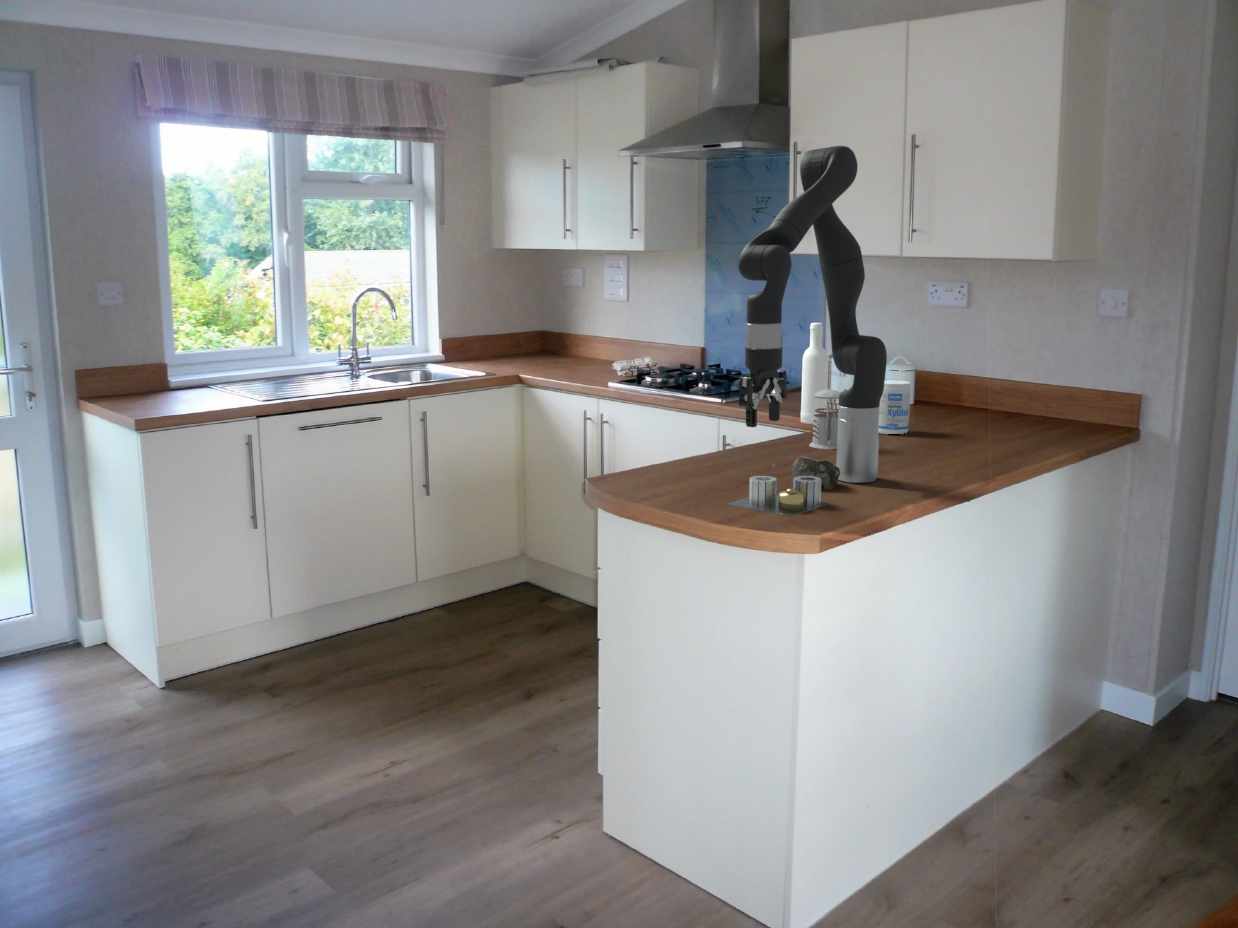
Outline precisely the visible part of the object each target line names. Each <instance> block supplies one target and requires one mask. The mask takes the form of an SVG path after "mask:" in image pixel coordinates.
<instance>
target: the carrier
mask: <svg viewBox="0 0 1238 928" xmlns="http://www.w3.org/2000/svg"><path fill="white" fill-rule="evenodd" d="M726 505H727V506H728V505H729V506H733V507H738V508H743V509H744V508H745V509H749V510H754V511H758V512H759V511H760V512H765V513H768V514H769V513H770V514H775V515H780V516H786V517H791V518H793V517H795V516H798V515H801V514H803V513H806V512H810V511H812V510H815V509H818V508H821V507H824V506H827V505H829V503H827V502H822V501H821V503H820V504H818V505H813V506H807V505H806V506H805V505H804V493H803V492H799V491H797V490H796V489H793V488H792V487H791V488H786V490H782V491H779V492H778V494H777V493H776V504H773V505H765V506H763V505H754V504H751V503H749V496H747V497H744V498H740V499H736V500H734V501H730V502H728V503H726Z"/></svg>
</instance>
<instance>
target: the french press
mask: <svg viewBox="0 0 1238 928" xmlns="http://www.w3.org/2000/svg"><path fill="white" fill-rule="evenodd" d="M827 358H829V373H831V369H832V368H831V367H832V359H833V354H832V352H829V353H827ZM841 392H842V391H839V390H836V389H832V388H831V374H828V389H827V390H822V391H819V392H817V393H816V394H814V397H815V398H820V399H827V400H828V401H830V400H837V399H838V400H839V395H840V393H841ZM815 411H816V412H818V413H823V414H816V415H814V417H813V420H814V423H813V424H812V426H813V427H812V430H813V432H812V435H813V436H812V442H810V444H809V445H808V446H809V447H811V448H814V449H821V450H837V435H838V408H835V402H832V406H830V403H829V402H827V408H818V409H816V410H815ZM815 422H818V423H819V424H816V423H815Z"/></svg>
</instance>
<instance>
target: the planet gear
mask: <svg viewBox="0 0 1238 928" xmlns="http://www.w3.org/2000/svg"><path fill="white" fill-rule="evenodd" d="M748 479H749V481H748V483H749V486H748V487H749V489H748V490H749V491H748V497H749V503H751V504H754V505H763V506H765V505H773V504H776V494H777V482H778V481H777V477H774V476H769V475H768V476H767V475H753V476H751V477H749V478H748Z"/></svg>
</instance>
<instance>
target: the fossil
mask: <svg viewBox="0 0 1238 928" xmlns="http://www.w3.org/2000/svg"><path fill="white" fill-rule="evenodd" d="M791 467H792V469H791V471H792V472H791V483H790V487H791V488H792V489H793V488H794V478H795V477H799V476H814V477H818V478H821V487H822V489H823V490H826V491H827V490H828V491H829V490H830V491H831V490H835V489H836V488H837V487H836V486H837V484H838V478H839V476H840V469H839V468H838V467H836V465H835V464H833V463H832V462H831V461H829V460H827V459H821V460H817V459H812V458H811V457H808V456H804V455H802V456H799V457H797V458H796V459H795V462H793V464H792V466H791Z"/></svg>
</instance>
